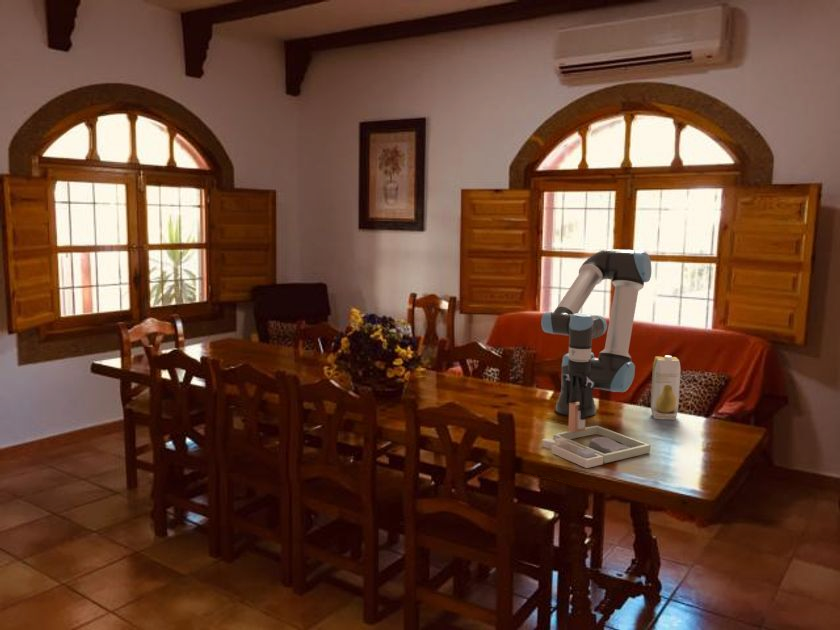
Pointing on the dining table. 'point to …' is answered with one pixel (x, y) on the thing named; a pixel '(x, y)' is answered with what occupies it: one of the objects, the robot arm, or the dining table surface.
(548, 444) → the snapped post
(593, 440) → the stone block
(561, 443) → the tray
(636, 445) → the shallow white tray
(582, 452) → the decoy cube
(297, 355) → the dining table surface
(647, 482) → the dining table surface
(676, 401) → the juice carton
